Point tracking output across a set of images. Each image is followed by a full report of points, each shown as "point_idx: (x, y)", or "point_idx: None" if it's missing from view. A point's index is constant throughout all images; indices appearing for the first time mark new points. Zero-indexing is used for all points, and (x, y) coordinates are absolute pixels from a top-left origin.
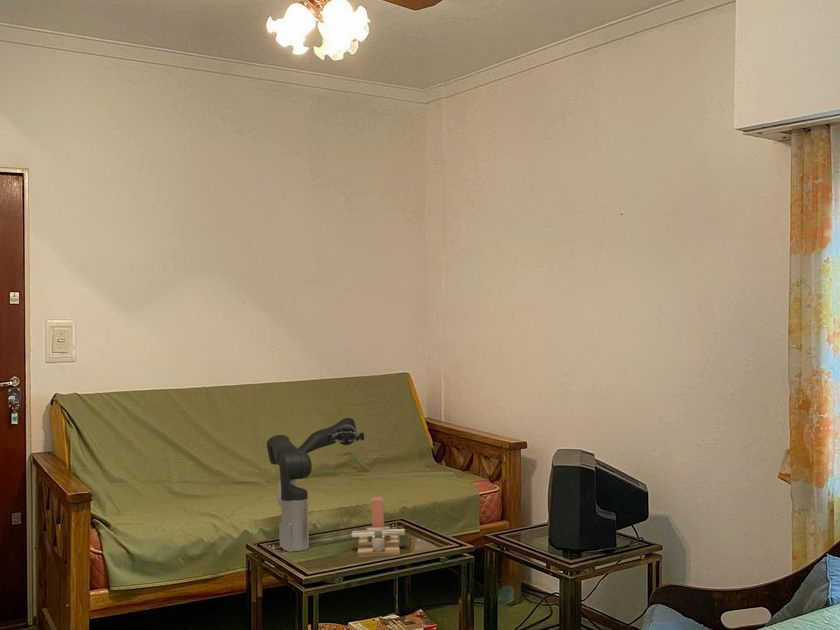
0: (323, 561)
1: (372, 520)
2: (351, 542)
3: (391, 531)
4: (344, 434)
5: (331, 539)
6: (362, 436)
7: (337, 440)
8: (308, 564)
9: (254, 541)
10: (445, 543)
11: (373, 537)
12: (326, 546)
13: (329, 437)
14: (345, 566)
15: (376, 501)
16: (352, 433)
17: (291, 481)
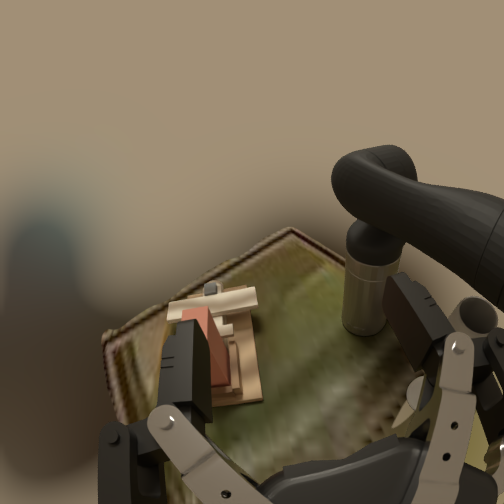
0: (290, 268)
1: (219, 334)
2: (274, 368)
3: (188, 304)
4: (364, 459)
5: (324, 388)
6: (132, 430)
7: (415, 416)
8: (305, 257)
9: None
10: (118, 356)
11: (219, 290)
12: (315, 338)
13: (476, 345)
14: (256, 256)
15: (197, 309)
16: (240, 475)
17: (457, 306)
